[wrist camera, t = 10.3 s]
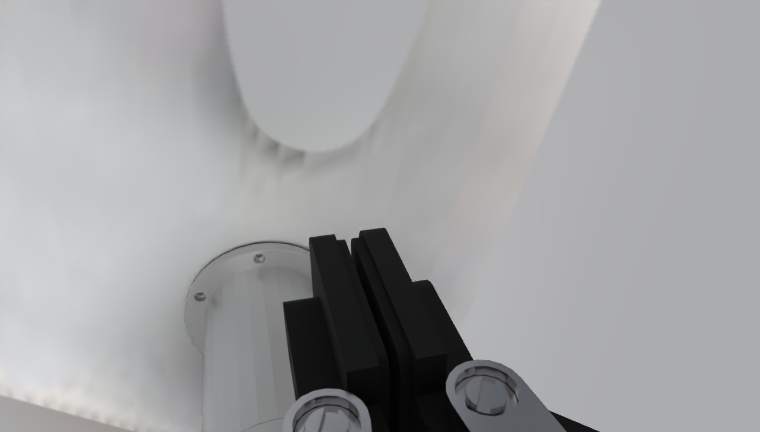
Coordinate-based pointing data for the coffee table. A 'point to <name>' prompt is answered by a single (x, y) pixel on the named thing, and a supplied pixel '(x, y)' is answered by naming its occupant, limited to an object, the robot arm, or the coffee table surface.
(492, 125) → the coffee table surface
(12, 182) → the coffee table surface
